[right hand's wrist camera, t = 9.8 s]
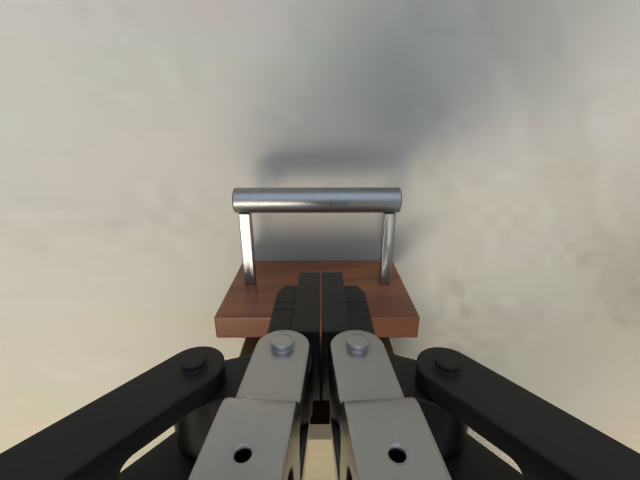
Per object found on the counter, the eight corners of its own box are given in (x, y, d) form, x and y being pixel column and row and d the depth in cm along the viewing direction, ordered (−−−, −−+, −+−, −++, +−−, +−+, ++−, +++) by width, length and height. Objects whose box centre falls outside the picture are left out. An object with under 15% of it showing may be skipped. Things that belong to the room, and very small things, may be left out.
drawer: (236, 177, 21) (199, 205, 15) (398, 177, 21) (433, 205, 15) (257, 425, 28) (239, 517, 22) (379, 425, 28) (396, 517, 22)
